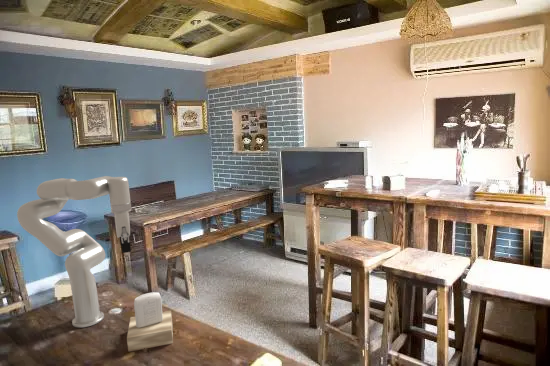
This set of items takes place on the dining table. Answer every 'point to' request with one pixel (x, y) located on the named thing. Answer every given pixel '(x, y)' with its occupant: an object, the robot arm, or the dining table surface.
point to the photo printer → (148, 309)
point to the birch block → (150, 333)
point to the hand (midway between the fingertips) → (125, 248)
